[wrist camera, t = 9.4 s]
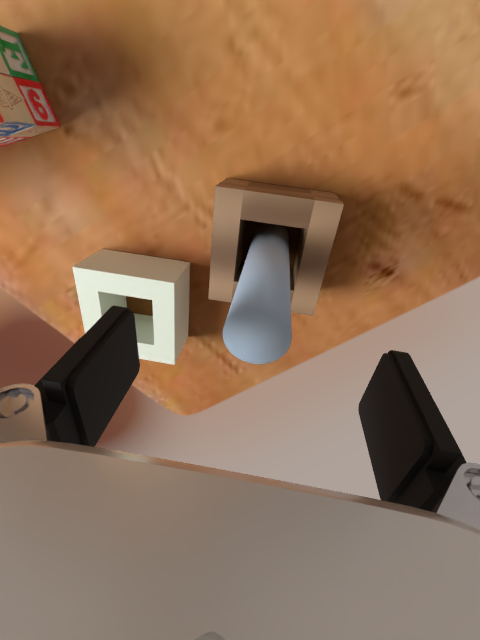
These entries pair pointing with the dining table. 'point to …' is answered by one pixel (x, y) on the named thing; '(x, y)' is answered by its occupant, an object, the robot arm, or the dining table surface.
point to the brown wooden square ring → (281, 209)
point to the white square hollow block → (141, 282)
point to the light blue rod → (262, 300)
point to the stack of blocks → (21, 94)
